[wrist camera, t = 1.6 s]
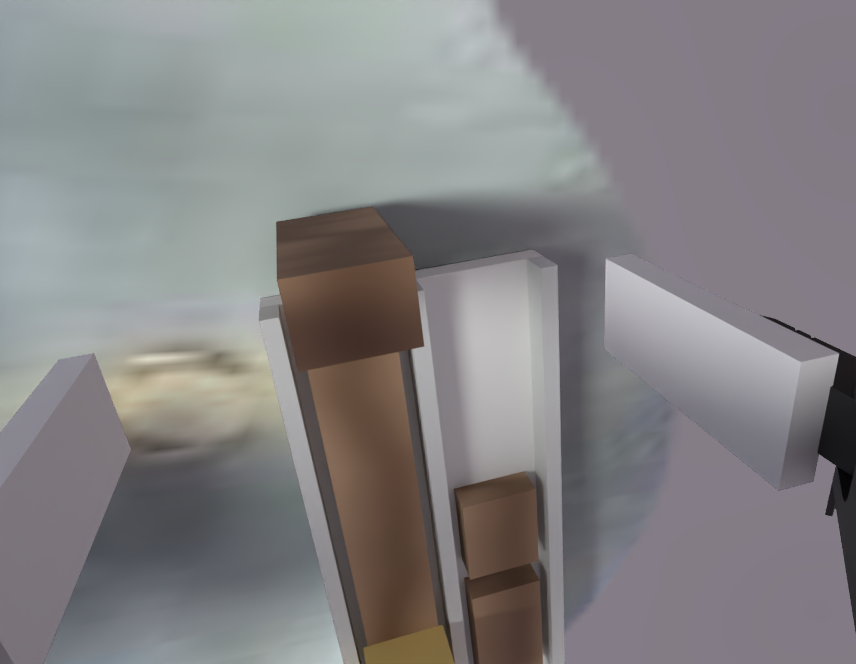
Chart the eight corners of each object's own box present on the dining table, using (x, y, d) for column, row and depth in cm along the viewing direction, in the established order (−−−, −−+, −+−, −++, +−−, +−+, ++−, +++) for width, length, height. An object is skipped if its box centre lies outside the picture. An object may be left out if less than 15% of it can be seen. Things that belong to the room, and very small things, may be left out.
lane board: (358, 703, 37) (364, 747, 35) (260, 298, 26) (258, 321, 24) (546, 645, 40) (565, 683, 37) (532, 249, 28) (557, 265, 26)
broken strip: (474, 670, 37) (482, 693, 36) (453, 488, 31) (462, 507, 30) (533, 652, 38) (543, 674, 36) (524, 471, 32) (535, 489, 30)
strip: (380, 699, 36) (406, 850, 29) (276, 221, 24) (277, 279, 17) (442, 679, 37) (483, 823, 30) (372, 206, 24) (413, 255, 17)
